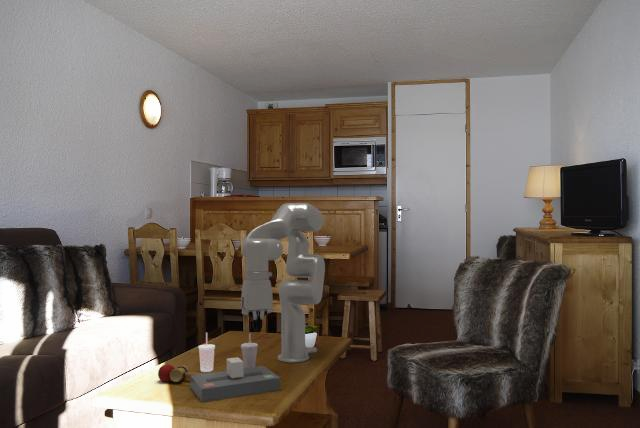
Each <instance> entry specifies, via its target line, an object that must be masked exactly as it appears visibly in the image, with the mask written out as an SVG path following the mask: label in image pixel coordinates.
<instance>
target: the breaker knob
mask: <svg viewBox="0 0 640 428" xmlns="http://www.w3.org/2000/svg"><path fill="white" fill-rule="evenodd" d="M225 361H226V371H227V375H229V376H230V377H231V378H238V377H244V371H243V369H244V362H243V359H241V358H239V357H238V356H237V357H229V358H228V357H227V358H226V360H225Z"/></svg>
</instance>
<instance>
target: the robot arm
mask: <svg viewBox="0 0 640 428" xmlns="http://www.w3.org/2000/svg"><path fill="white" fill-rule="evenodd" d="M323 225H324V216H323V214H322V212H321V211H320V210H319V209H318V208H317V207H315V206H314V205H312V204H310V203H307V202H287V203H283V204H282V205H280V207H279V208H278V209H277V211H276V212H275V214H274V215H273V216H272V218H271V219H270V221H267V222H265V223H263V224H261V225H258V226H257V227H256V228H253V229H252V230H251V231H250V232H249V233H248V235H247V236H246V238H245V239H244V240H243V242H242V246H241V253H242V255H243V257H244V258H245V280H243V281H242V289H241V298H240V299H241V300H240V307H241V309H242V310H241V314H242V315H244V316H245V315H246V316H249V317H250V318H251V319H252V321H251V322H252V324H251V325H252V327H251V328H252V329H253V331H254V332H262V328H263V319H264V317H266V315H267V314H271V313H272V312H273V304H274V303H273V301H274V298H273V297H274V296H273V289H272V282H271V280H270V277H273V272H270V271H269V261H277V260H278V259H280V258H281V256H282V255H283V250H284V247H283V244H282V242H281V241H280V240H283V239H285V238H287V241H288V248H287V256H286V265H285V272H286V275H288V277H292V278H305V279H287V280H286V279H285V280H284V281H282V282H281V283H280V284H279V286H278V295H279V302H280V310H281V311H280V313H281V315H280V316H281V317H280V318H281V320H280V321H281V323H280V324H281V327H280V329H281V335H280V336H281V353H280V354H278V355H277V360H278V361H279V362H282V363H291V364H294V363H303V362H306V361H308V360H309V359H310V355H309V354H310V353H312V354H313V353H317V347H311V346H310V347H309V346H306V314H305V311H304V309H303V307H302V306H301V305H318V304H320V302H321V301H322V298H323V291H324V283H325V282H324V280H325V273H326V264H325V259H324V257H323V256H322V255H319V254H313V253H310V252H309V251H310V250H309V249H310V241H309V240H308V238H307V236H305V234H304V233H303V232H318V231H320V230H321V229H322V228H323ZM306 278H309V279H310V280H308V279H306Z"/></svg>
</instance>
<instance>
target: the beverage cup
mask: <svg viewBox="0 0 640 428" xmlns="http://www.w3.org/2000/svg"><path fill="white" fill-rule="evenodd" d="M215 349H216V345H215V344H211V343H210V344H208V332H205V344H201V345H198V352H199V353H198V354H199V365H200V367H199V368H200V372H202V373H211V372H212V371H214V363H215V362H214V360H215Z"/></svg>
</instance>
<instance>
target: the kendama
mask: <svg viewBox="0 0 640 428" xmlns="http://www.w3.org/2000/svg"><path fill="white" fill-rule="evenodd" d="M199 374H206V372H202V373H201V372H190V371H189V369H188V367H186V366H185V365H178V366H177V367H176V368H175V367H174V366H173V365H172V364H169V363H167V364H166V363H165V364H163V365H161V366H160V367H159V369H158V372H157V376H158V379H159V380H160V381H161V382H163V383H171V382H173V383H178V382H180V381H184V380H185V379H190V376H191V375H199Z"/></svg>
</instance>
